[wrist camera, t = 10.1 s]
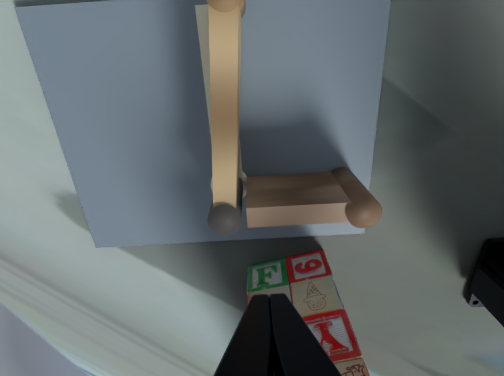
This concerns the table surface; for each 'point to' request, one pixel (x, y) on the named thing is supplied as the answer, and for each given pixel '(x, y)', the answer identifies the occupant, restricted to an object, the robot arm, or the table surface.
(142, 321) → the table surface
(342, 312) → the stack of blocks
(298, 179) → the fixed fence section
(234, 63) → the folding fence panel
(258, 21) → the board
